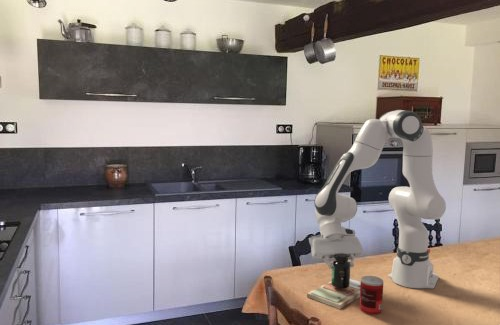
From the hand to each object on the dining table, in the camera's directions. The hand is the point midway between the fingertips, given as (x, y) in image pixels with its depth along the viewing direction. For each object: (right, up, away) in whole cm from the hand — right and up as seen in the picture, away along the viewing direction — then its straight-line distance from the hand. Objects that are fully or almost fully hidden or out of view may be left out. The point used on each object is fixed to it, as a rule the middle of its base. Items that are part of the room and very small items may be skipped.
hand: (341, 267), depth 164 cm
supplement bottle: (0, -7, +1) cm, 7 cm away
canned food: (+8, -12, -12) cm, 19 cm away
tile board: (0, -10, +2) cm, 11 cm away
